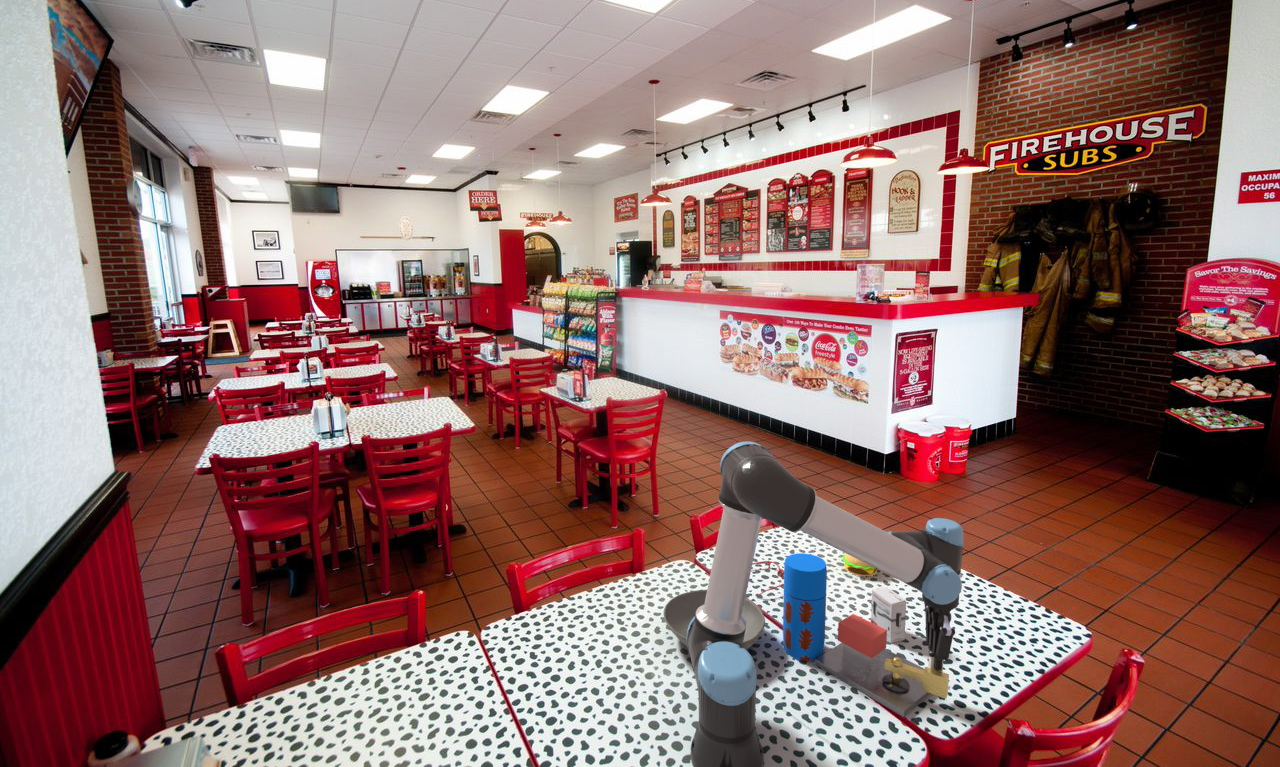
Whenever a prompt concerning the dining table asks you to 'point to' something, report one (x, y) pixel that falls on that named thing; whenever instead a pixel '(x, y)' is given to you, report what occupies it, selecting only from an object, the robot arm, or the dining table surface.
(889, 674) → the panel
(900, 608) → the ink box
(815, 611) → the thermos
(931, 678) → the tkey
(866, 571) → the hamburger
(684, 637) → the bowl
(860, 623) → the cover
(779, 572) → the red eyeglasses
